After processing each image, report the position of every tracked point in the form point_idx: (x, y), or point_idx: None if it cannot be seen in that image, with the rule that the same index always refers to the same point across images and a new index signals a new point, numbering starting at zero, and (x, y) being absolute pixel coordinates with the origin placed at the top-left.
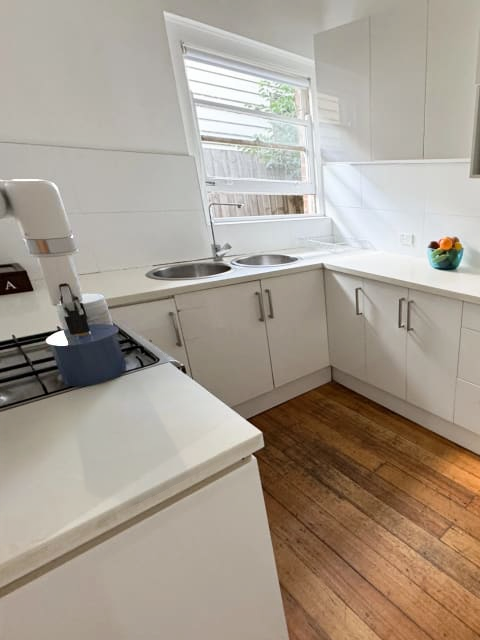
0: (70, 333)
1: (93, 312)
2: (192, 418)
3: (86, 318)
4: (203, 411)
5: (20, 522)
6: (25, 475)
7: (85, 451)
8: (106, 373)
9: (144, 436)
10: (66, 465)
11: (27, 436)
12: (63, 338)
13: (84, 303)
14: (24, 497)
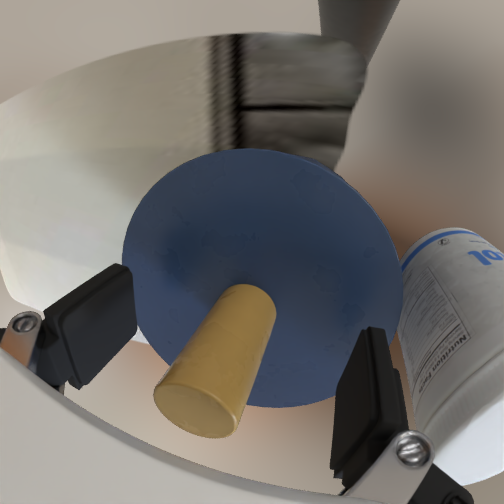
0: (113, 265)
1: (417, 421)
2: (34, 279)
3: (336, 391)
4: (42, 295)
5: None
6: (21, 106)
7: (23, 163)
8: None
9: (22, 224)
10: (16, 144)
11: (81, 89)
12: (240, 227)
13: (438, 453)
14: (4, 113)
